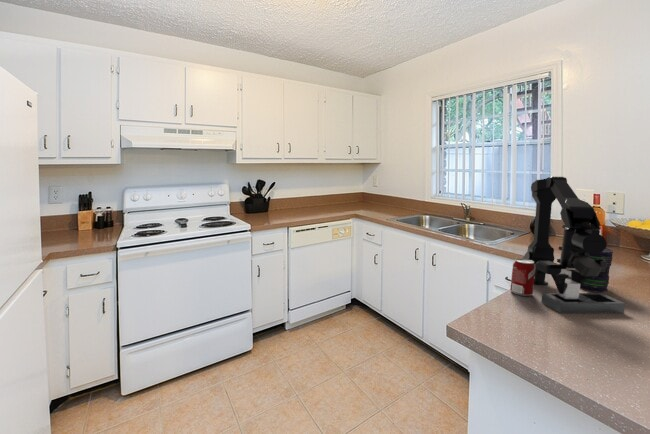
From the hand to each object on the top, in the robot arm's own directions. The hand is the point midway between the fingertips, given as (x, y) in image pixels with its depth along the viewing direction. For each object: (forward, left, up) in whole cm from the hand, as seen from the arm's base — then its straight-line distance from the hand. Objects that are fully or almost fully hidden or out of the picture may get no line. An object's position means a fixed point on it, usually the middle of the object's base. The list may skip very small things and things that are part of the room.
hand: (567, 293), depth 100 cm
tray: (0, +5, -5) cm, 7 cm away
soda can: (-11, -7, -5) cm, 14 cm away
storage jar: (-17, +23, -5) cm, 29 cm away
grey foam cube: (0, 0, -1) cm, 1 cm away
